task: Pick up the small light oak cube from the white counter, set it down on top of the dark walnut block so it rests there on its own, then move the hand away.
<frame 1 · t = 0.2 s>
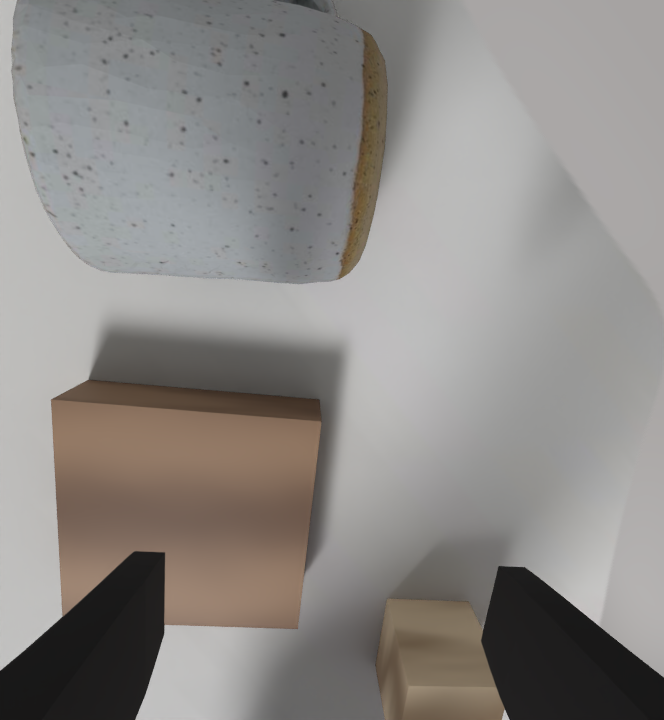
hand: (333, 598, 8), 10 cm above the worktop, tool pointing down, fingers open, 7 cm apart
oak cube: (420, 632, 21), on the worktop
walnut block: (204, 485, 19), on the worktop
ceramic mug: (244, 143, 15), on the worktop
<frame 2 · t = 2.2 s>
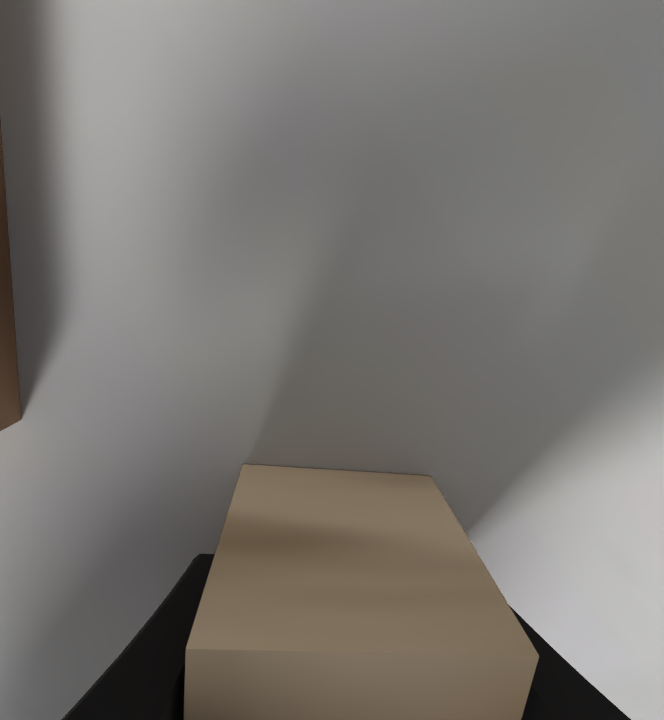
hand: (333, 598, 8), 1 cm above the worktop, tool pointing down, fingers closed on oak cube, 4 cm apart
oak cube: (328, 551, 10), on the worktop, touching gripper
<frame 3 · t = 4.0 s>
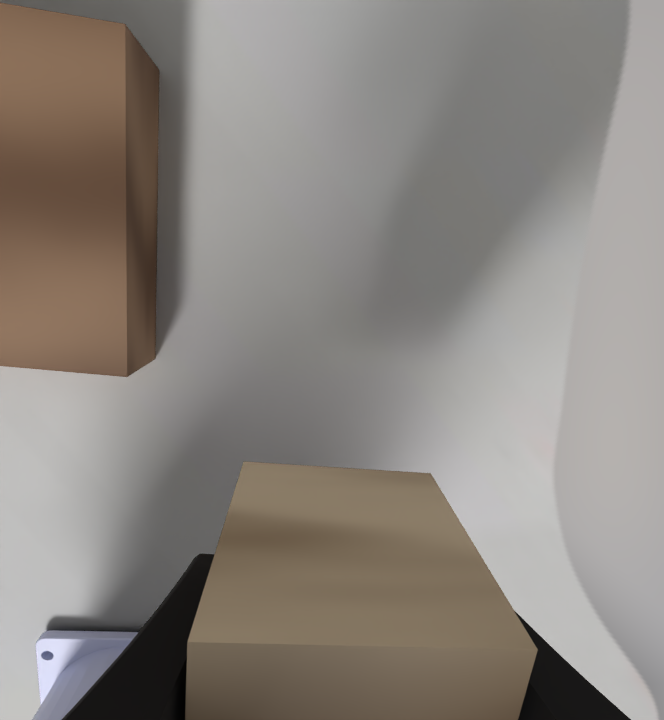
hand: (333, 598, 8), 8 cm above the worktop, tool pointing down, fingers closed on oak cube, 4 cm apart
oak cube: (329, 548, 10), point 7 cm above the worktop, touching gripper
walnut block: (18, 209, 14), on the worktop
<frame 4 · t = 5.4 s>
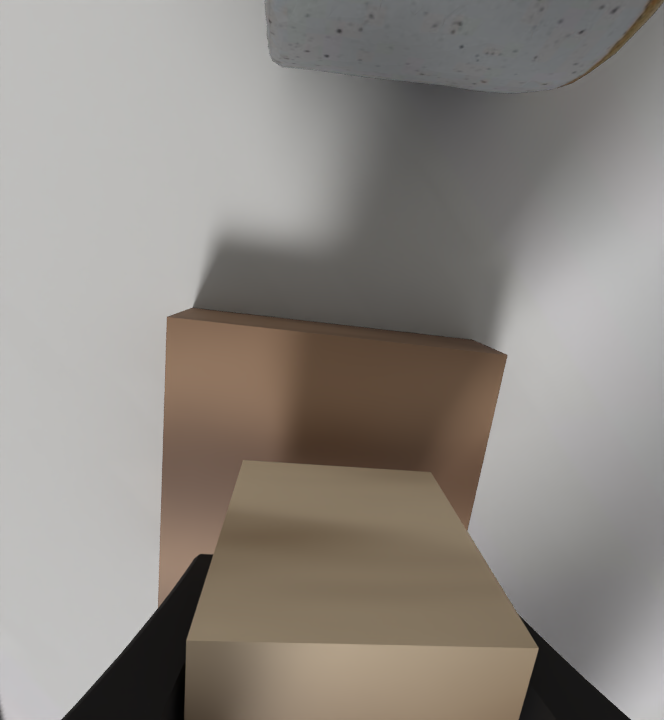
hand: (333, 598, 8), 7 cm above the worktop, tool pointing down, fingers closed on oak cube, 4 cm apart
oak cube: (329, 547, 10), point 5 cm above the worktop, touching gripper
walnut block: (320, 448, 15), on the worktop
when the fingers open (5 cm above the worktop, at t = 6.1 s): oak cube drops 1 cm, resting on walnut block.
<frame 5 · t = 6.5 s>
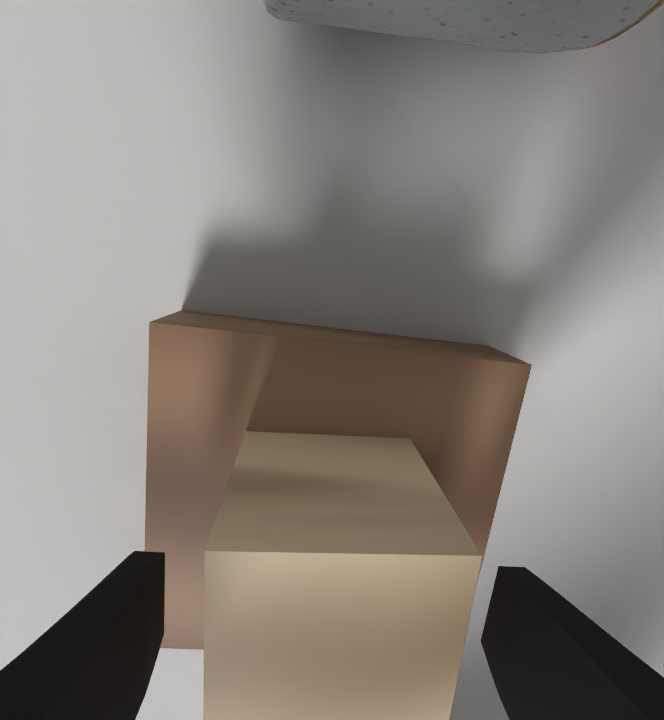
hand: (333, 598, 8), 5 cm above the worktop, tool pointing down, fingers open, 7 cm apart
oak cube: (323, 507, 11), point 2 cm above the worktop, touching walnut block
walnut block: (321, 463, 14), on the worktop, touching oak cube
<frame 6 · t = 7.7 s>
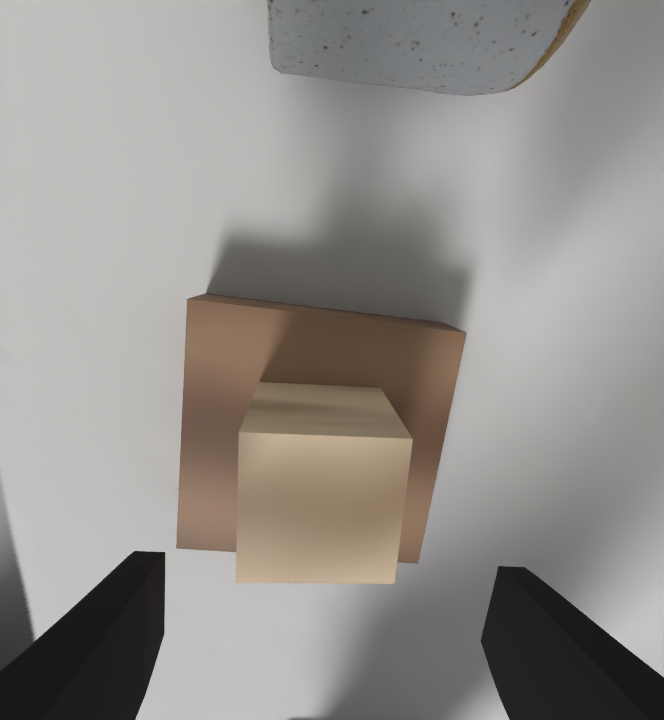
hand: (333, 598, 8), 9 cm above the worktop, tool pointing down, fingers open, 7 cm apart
oak cube: (316, 441, 15), point 3 cm above the worktop
walnut block: (313, 415, 18), on the worktop
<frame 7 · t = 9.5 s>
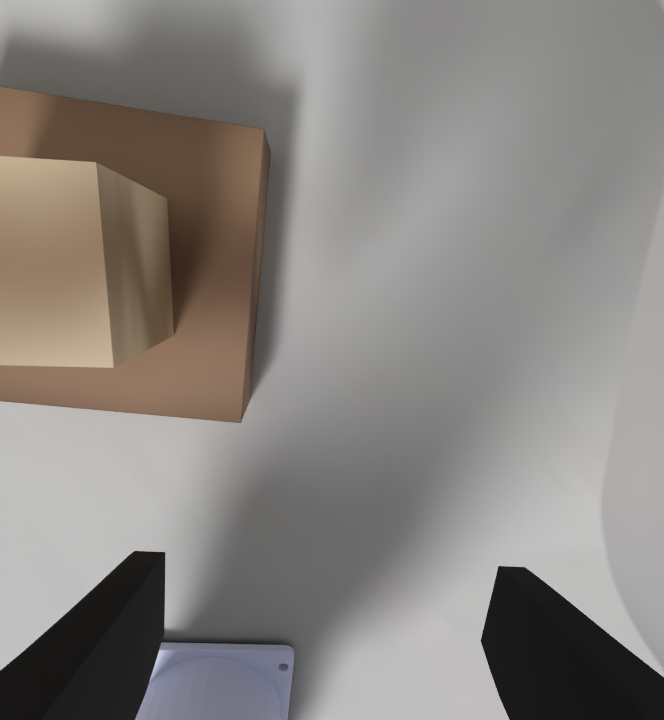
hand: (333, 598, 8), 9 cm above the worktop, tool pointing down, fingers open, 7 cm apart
oak cube: (100, 266, 13), point 2 cm above the worktop
walnut block: (137, 268, 16), on the worktop
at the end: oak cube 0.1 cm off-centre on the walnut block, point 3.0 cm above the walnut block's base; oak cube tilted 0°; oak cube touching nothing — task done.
